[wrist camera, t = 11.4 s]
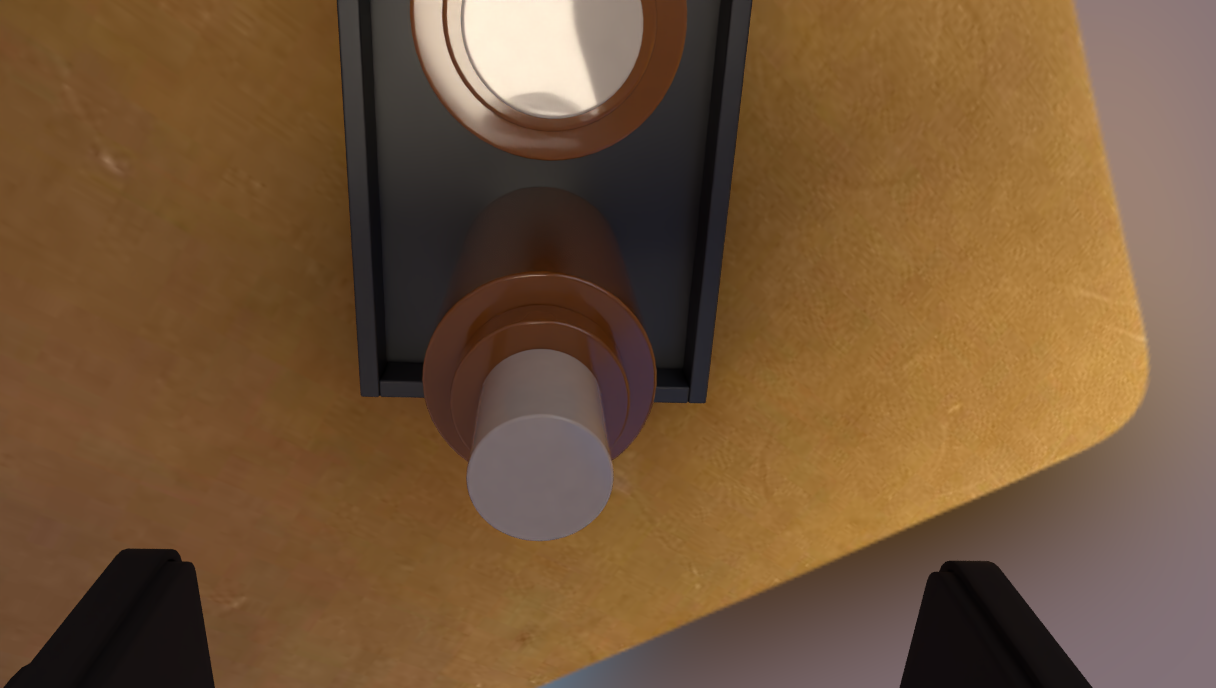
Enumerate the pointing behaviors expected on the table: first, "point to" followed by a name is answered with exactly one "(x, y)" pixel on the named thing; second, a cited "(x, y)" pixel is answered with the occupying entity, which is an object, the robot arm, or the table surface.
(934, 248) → the table surface
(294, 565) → the table surface
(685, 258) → the tray
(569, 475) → the loose bottle
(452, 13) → the bottle
